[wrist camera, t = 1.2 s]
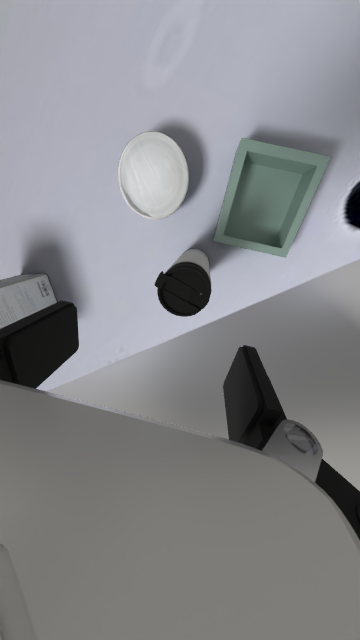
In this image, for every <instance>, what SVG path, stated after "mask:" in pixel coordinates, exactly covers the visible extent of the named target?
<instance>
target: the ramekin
mask: <svg viewBox="0 0 360 640" xmlns="http://www.w3.org/2000/svg"><path fill="white" fill-rule="evenodd" d="M118 180H119V186H120V190H121V193H122V195H123V198H124V199H125V201H126V203H127V204H128V206H129V207H130V208H131V209H132V210H133V211H134V212H135V213H137V214H138V215H140V216H142V217H144V218H147V219H151V220H159V219H164V218H166V217H168V216H170V215H172V214H173V213H174V212H175V211H176V210H177V209H178V208H179V207H180V206H181V204H182V203H183V201H184V199H185V197H186V194H187V190H188V185H189V171H188V165H187V161H186V158H185V156H184V154H183V152H182V150H181V148H180V147H179V146H178V144H177V143H176V142H175V141H174V140H173V139H172V138H170V137H169V136H167V135H165V134H163V133H161V132H156V131H148V132H144V133H141V134H139V135H137V136H136V137H134V138H133V139H132V140H131V141H129V143H128V144H127V145H126V147H125V148H124V150H123V152H122V155H121V158H120V161H119V167H118Z"/></svg>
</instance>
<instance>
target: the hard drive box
mask: <svg viewBox="0 0 360 640" xmlns="http://www.w3.org/2000/svg"><path fill="white" fill-rule="evenodd" d="M55 303H57V301H56V298H55V296H54V292H53V290H52V287H51V285H50V282H49V280H48V277H47V275H45V274H27V275H18V276H14V277H11V278H7V279H3V280H0V329H1V328H3V327H5V326H7V325H9V324H12V323H14V322H16V321H18V320H20V319H22V318H24V317H27V316H29V315H31V314H33V313H35V312H37V311H40V310H42V309H44V308H46V307H48V306H50V305H52V304H55Z"/></svg>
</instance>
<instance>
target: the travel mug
mask: <svg viewBox="0 0 360 640" xmlns="http://www.w3.org/2000/svg"><path fill="white" fill-rule="evenodd" d="M155 286H156V287H158V298H159V301H160V303H161V304H162V306H163V307H164V308H165V309H166V310H167V311H169V312H170V313H172V314H174V315H177V316H192V315H195V314H196V313H198V312H199V311H201V309H203V308H204V307H205V306H206V305H207V303H208V302H209V298H210V294H211V279H210V269H209V261H208V258H207V256H206V254H205V253H204V252H203V251H201V250H199V249H189V250H187V251H186V252H184V253H183V254H182V255H181V256H180V257H179V258H178V259H177V261H176V262H175V263H174V264H173V265H172V266H171V267H170V268H169V269H168V270H167V272H166V273H165V274H163V271H162V272H161V273H160V274H159V276H158V278H157V280H156V282H155Z"/></svg>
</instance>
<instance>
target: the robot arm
mask: <svg viewBox="0 0 360 640" xmlns="http://www.w3.org/2000/svg"><path fill="white" fill-rule="evenodd" d="M78 347H79V339H78V321H77V308H76V307H75V306H74V304H73V303H70V302H66V301H59V302H57V303H55V304H52V305H50V306H48V307H46V308H44V309H42V310H40V311H37V312H35V313H33V314H31V315H29V316H27V317H24V318H22V319H20V320H18V321H16V322H14V323H12V324H9V325H7V326H5V327H3V328H1V329H0V640H360V491H359V490H357V489H356V488H355V487H354V486H353V485H352V484H351V483H349V482H348V481H347V480H346V479H345V478H344V477H342V476H341V475H340V474H339V473H338V472H337V471H335V470H334V469H333V468H332V467H331V466H330V465H329V464H328V463H326V462H325V461H324V460H323V459H322V456H323V450H322V447H321V445H320V443H319V441H318V440H317V438H316V437H315V436H314V435H313V433H312V432H310V431H309V430H308V429H307V428H306V427H305V426H303V425H302V424H300V423H298V422H296V421H293V420H289V419H287V418H286V416H285V413H284V411H283V409H282V407H281V405H280V402H279V400H278V398H277V395H276V393H275V391H274V389H273V386H272V384H271V381H270V379H269V377H268V376H267V374H266V371H265V369H264V367H263V365H262V362H261V360H260V357H259V355H258V353H257V351H256V349H255V348H254V347H250V346H246V345H244V346H243V347H239V349H238V351H237V354H236V356H235V358H234V361H233V363H232V366H231V368H230V370H229V372H228V375H227V377H226V379H225V382H224V386H223V389H224V399H225V407H226V416H227V425H228V434H229V440H228V439H225V438H221V437H217V436H214V435H210V434H207V433H203V432H199V431H196V430H192V429H189V428H185V427H181V426H177V425H174V424H170V423H166V422H162V421H158V420H155V419H151V418H147V417H143V416H140V415H135V414H132V413H128V412H124V411H120V410H116V409H113V408H109V407H105V406H101V405H97V404H93V403H89V402H85V401H82V400H78V399H73V398H69V397H66V396H62V395H58V394H54V393H50V392H46V391H42V390H38V389H36V388H37V387H38V386H39V385H40V384H41V383H42V382H43V381H45V380H46V379H47V378H48V377H49V376H50V375H51V374H52V373H53V372H54V371H56V370H57V369H58V368H59V367H60V366H61V365H62V364H63V363H64V362H65V361H66V360H68V359H69V358H70V357H71V356H72V355H73V354H74V353H75V352H76V351H77V350H78Z"/></svg>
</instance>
